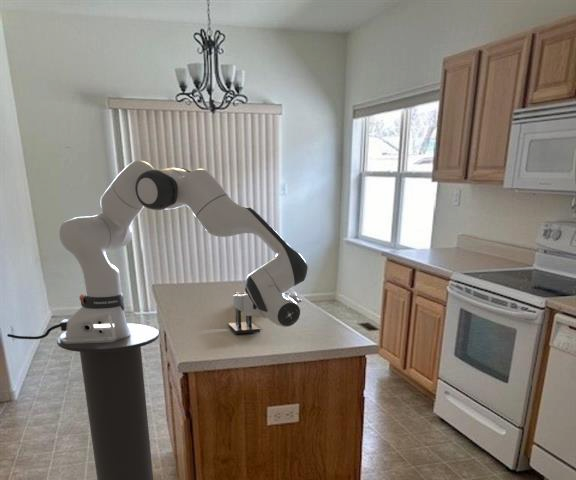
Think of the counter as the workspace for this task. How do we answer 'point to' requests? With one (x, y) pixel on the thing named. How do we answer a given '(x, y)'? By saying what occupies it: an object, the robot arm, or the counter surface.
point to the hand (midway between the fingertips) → (259, 295)
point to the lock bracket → (243, 324)
